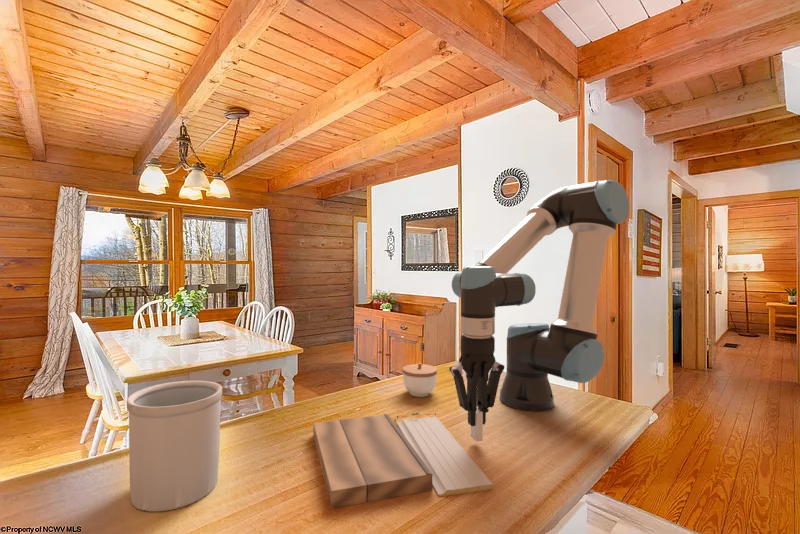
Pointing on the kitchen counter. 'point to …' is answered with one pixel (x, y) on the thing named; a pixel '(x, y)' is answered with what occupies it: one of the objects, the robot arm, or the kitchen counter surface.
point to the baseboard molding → (443, 457)
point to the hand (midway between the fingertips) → (476, 438)
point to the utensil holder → (173, 443)
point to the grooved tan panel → (368, 461)
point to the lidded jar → (419, 379)
